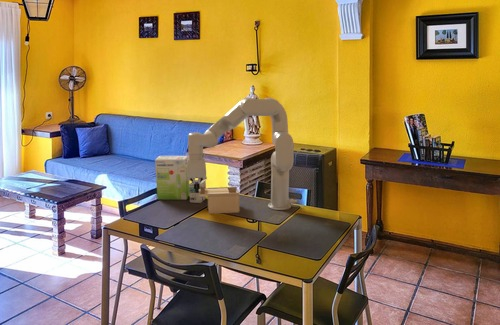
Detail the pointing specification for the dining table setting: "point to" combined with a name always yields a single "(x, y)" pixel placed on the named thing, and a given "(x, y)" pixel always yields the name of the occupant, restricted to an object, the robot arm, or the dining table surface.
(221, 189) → the lid
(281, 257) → the dining table surface
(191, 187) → the light bulb box
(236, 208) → the carton
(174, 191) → the green product box
